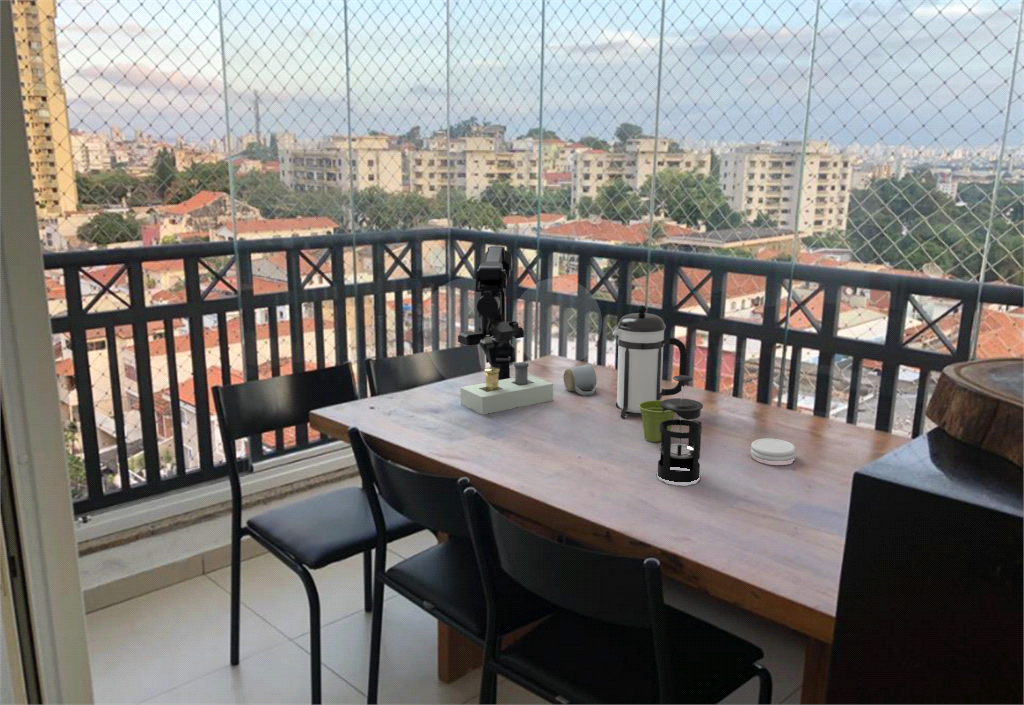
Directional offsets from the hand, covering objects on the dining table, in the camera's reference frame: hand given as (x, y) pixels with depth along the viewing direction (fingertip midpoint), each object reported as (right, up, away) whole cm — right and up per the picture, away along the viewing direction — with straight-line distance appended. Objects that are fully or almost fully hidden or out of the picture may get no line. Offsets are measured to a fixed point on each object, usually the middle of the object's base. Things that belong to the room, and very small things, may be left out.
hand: (491, 364), depth 223 cm
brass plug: (0, -9, +2) cm, 9 cm away
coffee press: (+42, -13, -4) cm, 44 cm away
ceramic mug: (+27, -8, +16) cm, 32 cm away
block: (+4, -11, +5) cm, 13 cm away
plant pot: (+42, -18, -25) cm, 52 cm away
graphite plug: (+8, -7, +7) cm, 13 cm away
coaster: (+66, -22, -39) cm, 80 cm away
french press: (+42, -24, -49) cm, 69 cm away
